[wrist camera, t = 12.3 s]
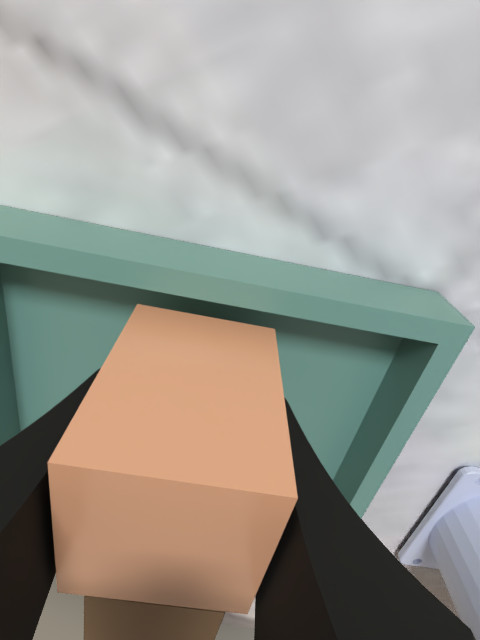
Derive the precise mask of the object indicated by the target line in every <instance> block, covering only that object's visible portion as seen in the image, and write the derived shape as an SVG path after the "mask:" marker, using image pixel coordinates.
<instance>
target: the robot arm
mask: <svg viewBox="0 0 480 640" xmlns="http://www.w3.org/2000/svg"><path fill="white" fill-rule="evenodd" d="M100 369H101V368H99V369H98V370H97V371H95V372H94V373H93V374H92V375H91V376H90V377H89V378H88V379H86V380H85V381H84V382H83V383H82V384H81V385H80V386H78V387H77V388H76V389H75V390H74V391H73V392H71V393H70V394H69V395H68V396H67V397H65V398H64V399H63V400H62V401H60V402H59V403H58V404H57V405H56V406H54V407H53V408H52V409H51V410H49V411H48V412H47V413H45V414H44V415H43V416H41V417H40V418H39V419H37V420H36V421H35V422H33V423H32V424H30V425H29V426H28V427H26V428H25V429H24V430H22V431H21V432H19V433H18V434H17V435H15V436H14V437H12V438H11V439H9V440H8V441H6V442H5V443H3V444H2V445H0V640H32V639H33V636H34V633H35V630H36V627H37V624H38V621H39V618H40V616H41V613H42V610H43V607H44V604H45V601H46V599H47V596H48V593H49V590H50V587H51V584H52V582H53V579H54V576H55V573H56V566H55V553H54V540H53V527H52V514H51V501H50V488H49V475H48V461H49V459H50V457H51V456H52V454H53V452H54V450H55V448H56V447H57V445H58V443H59V441H60V440H61V438H62V436H63V434H64V433H65V431H66V429H67V427H68V426H69V424H70V422H71V420H72V418H73V417H74V415H75V413H76V411H77V410H78V408H79V406H80V404H81V403H82V401H83V399H84V397H85V396H86V394H87V392H88V390H89V388H90V387H91V385H92V383H93V381H94V380H95V378H96V376H97V374H98V373H99V371H100ZM284 399H285V407H286V414H287V421H288V429H289V436H290V444H291V451H292V458H293V466H294V473H295V481H296V488H297V495H298V499H297V502H296V504H295V506H294V508H293V511H292V513H291V515H290V518H289V520H288V522H287V524H286V527H285V529H284V531H283V534H282V536H281V538H280V540H279V543H278V545H277V547H276V550H275V552H274V554H273V556H272V559H271V561H270V563H269V566H268V568H267V570H266V573H265V575H264V577H263V579H262V582H261V584H260V586H259V589H258V591H257V593H256V603H255V637H254V638H255V639H254V640H480V468H478V467H471V466H467V467H463V468H461V469H460V470H459V471H458V472H457V473H456V475H455V476H454V477H453V479H452V480H451V481H450V483H449V484H448V486H447V487H446V488H445V490H444V491H443V492H442V494H441V495H440V497H439V498H438V499H437V501H436V502H435V503H434V505H433V506H432V507H431V509H430V510H429V512H428V513H427V514H426V516H425V517H424V518H423V520H422V521H421V523H420V524H419V525H418V527H417V528H416V529H415V531H414V532H413V533H412V535H411V536H410V538H409V539H408V540H407V542H406V543H405V544H404V546H403V547H402V549H401V550H400V551H399V553H398V557H399V560H400V562H401V563H402V564H405V565H411V566H419V567H427V568H434V569H439V571H440V573H441V575H442V578H443V580H444V583H445V585H446V587H447V590H448V592H449V594H450V597H451V599H452V602H453V604H454V606H455V609H456V611H457V613H458V616H459V618H460V619H459V618H458V617H457V616H456V615H455V614H453V613H452V612H451V611H450V610H449V609H448V608H447V607H446V606H445V605H444V604H442V603H441V602H440V601H439V600H438V599H437V598H436V597H435V596H434V595H433V594H431V593H430V592H429V591H428V590H427V589H426V588H425V587H424V586H423V585H422V584H421V583H420V582H419V581H418V580H417V579H416V578H415V577H414V576H413V575H412V574H411V573H410V572H409V571H408V570H407V569H406V568H405V567H404V566H403V565H402V564H401V563H400V562H399V561H398V560H397V559H396V558H395V557H394V556H393V554H392V553H391V552H390V551H389V550H388V549H387V548H386V547H385V546H384V545H383V543H382V542H381V541H380V540H379V539H378V538H377V537H376V536H375V534H374V533H373V532H372V531H371V530H370V529H369V528H368V526H367V525H366V524H365V523H364V522H363V520H362V519H361V518H360V517H359V516H358V514H357V513H356V512H355V510H354V509H353V508H352V507H351V505H350V504H349V503H348V501H347V500H346V499H345V497H344V496H343V495H342V493H341V492H340V490H339V489H338V488H337V486H336V485H335V483H334V482H333V480H332V479H331V477H330V476H329V474H328V473H327V471H326V470H325V468H324V466H323V465H322V463H321V462H320V460H319V458H318V457H317V455H316V453H315V452H314V450H313V448H312V446H311V445H310V443H309V441H308V440H307V438H306V436H305V434H304V432H303V431H302V429H301V427H300V425H299V423H298V421H297V419H296V417H295V415H294V413H293V411H292V409H291V407H290V405H289V403H288V401H287V400H286V398H284Z"/></svg>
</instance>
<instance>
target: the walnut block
mask: <svg viewBox="0 0 480 640" xmlns="http://www.w3.org/2000/svg"><path fill="white" fill-rule="evenodd" d="M224 614H225V612H224V611H216V610H207V609H198V608H189V607H180V606H172V605H163V604H154V603H145V602H137V601H128V600H119V599H110V598H102V597H93V596H84V640H215V637H216V635H217V632H218V630H219V627H220V625H221V622H222V620H223V617H224Z"/></svg>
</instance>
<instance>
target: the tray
mask: <svg viewBox="0 0 480 640" xmlns="http://www.w3.org/2000/svg"><path fill="white" fill-rule="evenodd" d="M137 304H141V305H147V306H152V307H158V308H163V309H169V310H174V311H180V312H185V313H191V314H196V315H202V316H207V317H213V318H218V319H224V320H229V321H235V322H240V323H246V324H251V325H257V326H262V327H268V328H273V329H275V333H276V340H277V348H278V355H279V362H280V370H281V377H282V385H283V392H284V398H286V400H287V401H288V403H289V405H290V407H291V409H292V411H293V413H294V415H295V417H296V419H297V421H298V423H299V425H300V427H301V429H302V431H303V432H304V434H305V436H306V438H307V440H308V441H309V443H310V445H311V446H312V448H313V450H314V452H315V453H316V455H317V457H318V458H319V460H320V462H321V463H322V465H323V466H324V468H325V470H326V471H327V473H328V474H329V476H330V477H331V479H332V480H333V482H334V483H335V485H336V486H337V488H338V489H339V490H340V492H341V493H342V495H343V496H344V497H345V499H346V500H347V501H348V503H349V504H350V505H351V507H352V508H353V509H354V510H355V512H356V513H357V514H358V516H359V517H360V518H362V516H363V515H364V513H365V511H366V510H367V508H368V506H369V505H370V503H371V501H372V500H373V498H374V496H375V495H376V493H377V491H378V489H379V488H380V486H381V484H382V483H383V481H384V479H385V478H386V476H387V474H388V473H389V471H390V469H391V468H392V466H393V464H394V463H395V461H396V459H397V458H398V456H399V454H400V453H401V451H402V449H403V448H404V446H405V444H406V442H407V441H408V439H409V437H410V436H411V434H412V432H413V431H414V429H415V427H416V426H417V424H418V422H419V421H420V419H421V417H422V416H423V414H424V412H425V411H426V409H427V407H428V406H429V404H430V402H431V400H432V399H433V397H434V395H435V394H436V392H437V390H438V389H439V387H440V385H441V384H442V382H443V380H444V379H445V377H446V375H447V374H448V372H449V370H450V369H451V367H452V365H453V364H454V362H455V360H456V358H457V357H458V355H459V353H460V352H461V350H462V348H463V347H464V345H465V343H466V342H467V340H468V338H469V337H470V335H471V333H472V332H473V330H474V328H475V326H474V325H473V324H472V323H470V322H469V321H468V320H467V319H466V318H465V317H464V316H463V315H462V314H461V313H460V312H459V311H458V310H457V309H456V308H455V307H453V306H452V305H451V304H450V303H449V302H448V301H447V300H446V299H445V298H444V297H443V296H442V295H441V294H440V293H439V292H435V291H430V290H425V289H420V288H415V287H410V286H405V285H400V284H395V283H390V282H385V281H380V280H375V279H370V278H365V277H360V276H355V275H350V274H345V273H339V272H334V271H329V270H324V269H319V268H314V267H309V266H304V265H299V264H294V263H289V262H284V261H279V260H274V259H269V258H264V257H259V256H254V255H249V254H244V253H239V252H234V251H229V250H224V249H219V248H214V247H209V246H204V245H198V244H193V243H188V242H183V241H178V240H173V239H168V238H163V237H158V236H153V235H148V234H143V233H138V232H133V231H128V230H123V229H118V228H113V227H108V226H103V225H98V224H93V223H88V222H83V221H78V220H73V219H68V218H63V217H58V216H52V215H47V214H42V213H37V212H32V211H27V210H22V209H17V208H12V207H7V206H2V205H0V445H2V444H3V443H5V442H6V441H8V440H9V439H11V438H12V437H14V436H15V435H17V434H18V433H19V432H21V431H22V430H24V429H25V428H26V427H28V426H29V425H30V424H32V423H33V422H35V421H36V420H37V419H39V418H40V417H41V416H43V415H44V414H45V413H47V412H48V411H49V410H51V409H52V408H53V407H54V406H56V405H57V404H58V403H59V402H60V401H62V400H63V399H64V398H65V397H67V396H68V395H69V394H70V393H71V392H73V391H74V390H75V389H76V388H77V387H78V386H80V385H81V384H82V383H83V382H84V381H85V380H86V379H88V378H89V377H90V376H91V375H92V374H93V373H94V372H95V371H97V370H98V369H99V368H101V367H102V366H103V364H104V362H105V360H106V358H107V357H108V355H109V353H110V351H111V350H112V348H113V346H114V344H115V343H116V341H117V339H118V337H119V336H120V334H121V332H122V330H123V328H124V327H125V325H126V323H127V321H128V320H129V318H130V316H131V314H132V313H133V311H134V309H135V307H136V305H137Z"/></svg>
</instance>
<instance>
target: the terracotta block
mask: <svg viewBox="0 0 480 640" xmlns="http://www.w3.org/2000/svg"><path fill="white" fill-rule="evenodd" d="M48 475H49V488H50V501H51V514H52V527H53V540H54V553H55V566H56V578H57V591H58V593H66V594H76V595H84V596H93V597H102V598H110V599H119V600H128V601H137V602H145V603H154V604H163V605H172V606H180V607H189V608H198V609H207V610H216V611H224V612H233V613H242V614H248V611H249V609H250V607H251V605H252V602H253V600H254V598H255V595H256V593H257V591H258V589H259V586H260V584H261V582H262V579H263V577H264V575H265V573H266V570H267V568H268V566H269V563H270V561H271V559H272V556H273V554H274V552H275V550H276V547H277V545H278V543H279V540H280V538H281V536H282V534H283V531H284V529H285V527H286V524H287V522H288V520H289V518H290V515H291V513H292V511H293V508H294V506H295V504H296V502H297V499H298V495H297V488H296V481H295V473H294V466H293V458H292V451H291V444H290V436H289V429H288V421H287V414H286V407H285V399H284V392H283V385H282V377H281V370H280V362H279V355H278V348H277V340H276V333H275V329H273V328H268V327H262V326H257V325H251V324H246V323H240V322H235V321H229V320H224V319H218V318H213V317H207V316H202V315H196V314H191V313H185V312H180V311H174V310H169V309H163V308H158V307H152V306H147V305H141V304H137V305H136V307H135V309H134V311H133V313H132V314H131V316H130V318H129V320H128V321H127V323H126V325H125V327H124V328H123V330H122V332H121V334H120V336H119V337H118V339H117V341H116V343H115V344H114V346H113V348H112V350H111V351H110V353H109V355H108V357H107V358H106V360H105V362H104V364H103V366H102V367H101V369H100V371H99V373H98V374H97V376H96V378H95V380H94V381H93V383H92V385H91V387H90V388H89V390H88V392H87V394H86V396H85V397H84V399H83V401H82V403H81V404H80V406H79V408H78V410H77V411H76V413H75V415H74V417H73V418H72V420H71V422H70V424H69V426H68V427H67V429H66V431H65V433H64V434H63V436H62V438H61V440H60V441H59V443H58V445H57V447H56V448H55V450H54V452H53V454H52V456H51V457H50V459H49V461H48Z"/></svg>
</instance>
